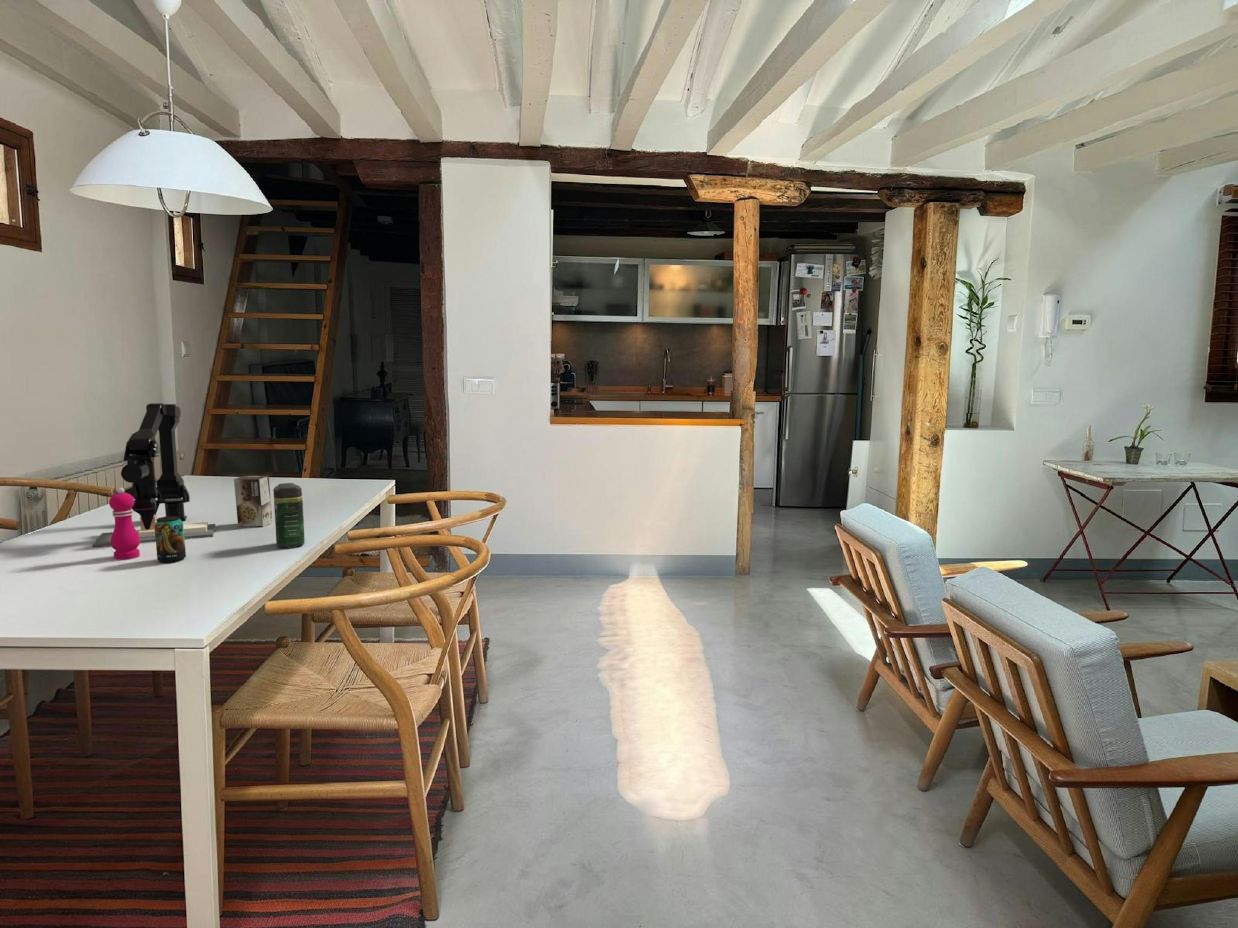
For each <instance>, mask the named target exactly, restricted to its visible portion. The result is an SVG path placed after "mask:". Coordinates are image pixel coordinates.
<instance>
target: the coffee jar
mask: <svg viewBox="0 0 1238 928" xmlns="http://www.w3.org/2000/svg"><path fill="white" fill-rule="evenodd" d="M302 491H303V490H302V487H301V486H299V485H298V484H296V483H294V482H284V483H279V484H277V485H275V486H274V488H273V490H272V492H273V504H274V505H273V506H274V523H275V524H274V525H275V526H274V527H275V538H276V539H275V540H276V545H277V546H278V548H288V549H291V548H296V547H299V546H300V545H301V546H303V545H304V544H305V539H306V538H305V525H304V524H305V522H304V521H305V520H304V501H303V492H302Z"/></svg>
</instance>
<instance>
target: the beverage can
mask: <svg viewBox="0 0 1238 928" xmlns="http://www.w3.org/2000/svg"><path fill="white" fill-rule="evenodd" d="M156 520H157V522H156V524H155V526H154V528H155V539H156V542H155V549H156V559H157V561H159V562H160V563H162V564H171V563H177V562H181V561H183V560H185V558H186V557H187V552H186V539H185V538H184V526H183V524H184V522H183V521H181V520H180V517H179V516H167V517H166V516H161V517H157V519H156Z"/></svg>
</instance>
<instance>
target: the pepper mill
mask: <svg viewBox="0 0 1238 928" xmlns="http://www.w3.org/2000/svg"><path fill="white" fill-rule="evenodd" d="M124 489H125V488H124V487H118V488H117V489H116V491H117V492H118V493H117V494H114V493H113V494H114V495H112V496H111V497H110V498H109V501H108V505H109V507H110V508H111V509H112V510H113V511H111V513H112V517H113V518H114V529H113V531H112V532H113V534H112V537H111V546H110V547H111V548H112V549H113V550H115V551H114V552H113V559H114V560H118V561H122V560H123V561H124V560H131V559H132V558H133V559H135V558H138V557H140V556H141V555H140V554H141V553H140V549H139V548H138V547H139V546H140V544H141V543H140V537H139V534H138V533H137V531H136V530H137V529H136V527H135V526H134V522H133V516H132V515H134V511H133V509H132V506H133V505H134V500H135V499H134V498H133V497H132V496H131V495H130V494H128V493H124ZM133 559H132V560H133Z"/></svg>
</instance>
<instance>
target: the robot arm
mask: <svg viewBox="0 0 1238 928" xmlns="http://www.w3.org/2000/svg"><path fill="white" fill-rule="evenodd" d="M145 408H146V409H145V413H144V416H143V419H142V421H141V423H140V425H139V427H138V428H139V429H138V431H137V430H136V431H135V432H134V433H132V434H131V435H130V437H129V438H128V440H127V441H126V444H125V449H124V454H123V455H124V456H123V461H124V462H127V463H126V464H125V465H124V466H123V467H122V468H121V471H120V475H121V478H122V479H123V481H125V482H127V483H130V484H131V483H132V485H131V486H128V487H125V488H123V489H124V493H128V494H130V495H131V496H132V497H133V498H134V505H133V506H132V508H131V509H133V513H134V512H135V513H137V514H138V515H139V516H140V517H139V518H141V519H142V522H143V524H144V527H145V529H146V530H149V529H150V526H151V523H152V520H153V517H154V515H156V516H157V512H158V510H159V507H160V504H164V510H165V511H164V513H165V517H167V516H179V517H180V520H181V521H182V522H183V521H186V520H187V517H188V516H187V515H185V504H186V503H188V502H189V503H190V501H191V499H190V498H191V497H190V493H189V491H188V488H187V487H186V485H185V481H184V479H183V477H182V476H181V475H180V473H179V472H178V461H177V460H178V458H177V447H176V446H177V444H176V428H177V427H178V425H179V424H180V417H181V414H182V412H181V408H180V407H179V406H177V404H176V403H162V402H159V403H158V402H157V403H156V402H155V403H153V402H152V403H151V402H150V403H149V404H148V403H147V405H146V407H145ZM157 433H158V435H159V436H158V438H159V444H158V442H157V440H156V435H157ZM158 449H159V450H160V452H159V453H160V462H161V463H160V466H161V467H160V468H161V474H160V476H159V478H158V479H157V478H156V471H155V470H156V469H155V468H156V467H155V460H156V459H155V458H156V456H157V453H158ZM117 493H118V492H117V490H116V491H115V492H114V493H113V495H114V494H117ZM113 495H112V496H113Z"/></svg>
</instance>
